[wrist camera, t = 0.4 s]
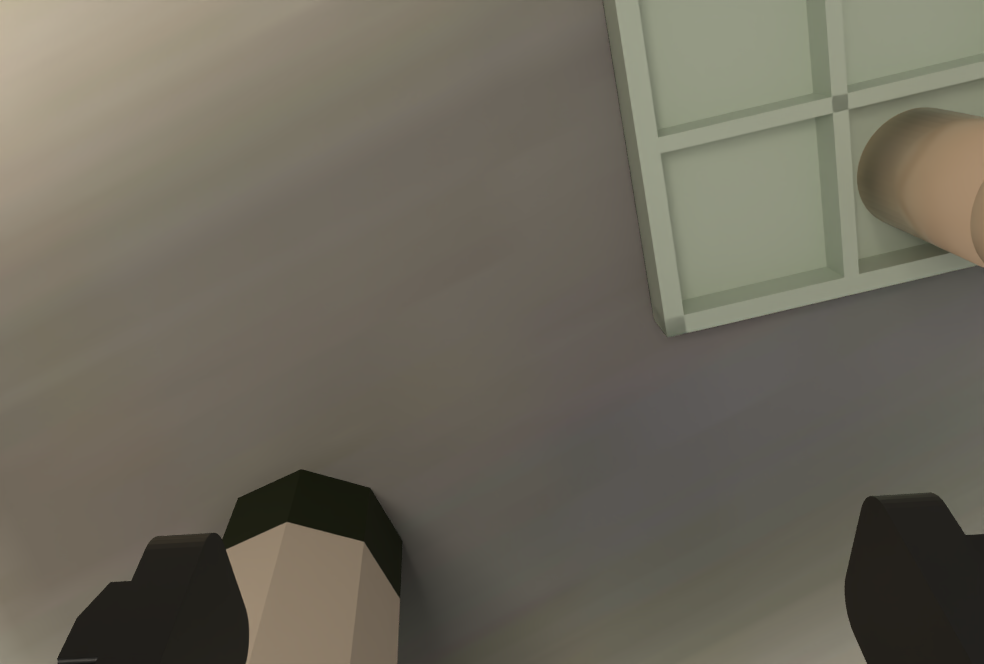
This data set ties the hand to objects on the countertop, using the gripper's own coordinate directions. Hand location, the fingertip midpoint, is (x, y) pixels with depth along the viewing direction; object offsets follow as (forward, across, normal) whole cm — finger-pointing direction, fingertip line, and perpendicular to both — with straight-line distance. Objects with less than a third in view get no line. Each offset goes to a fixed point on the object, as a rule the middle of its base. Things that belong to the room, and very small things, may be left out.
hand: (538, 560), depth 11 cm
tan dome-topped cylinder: (+25, -16, +6) cm, 30 cm away
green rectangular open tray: (+26, -12, +3) cm, 29 cm away
